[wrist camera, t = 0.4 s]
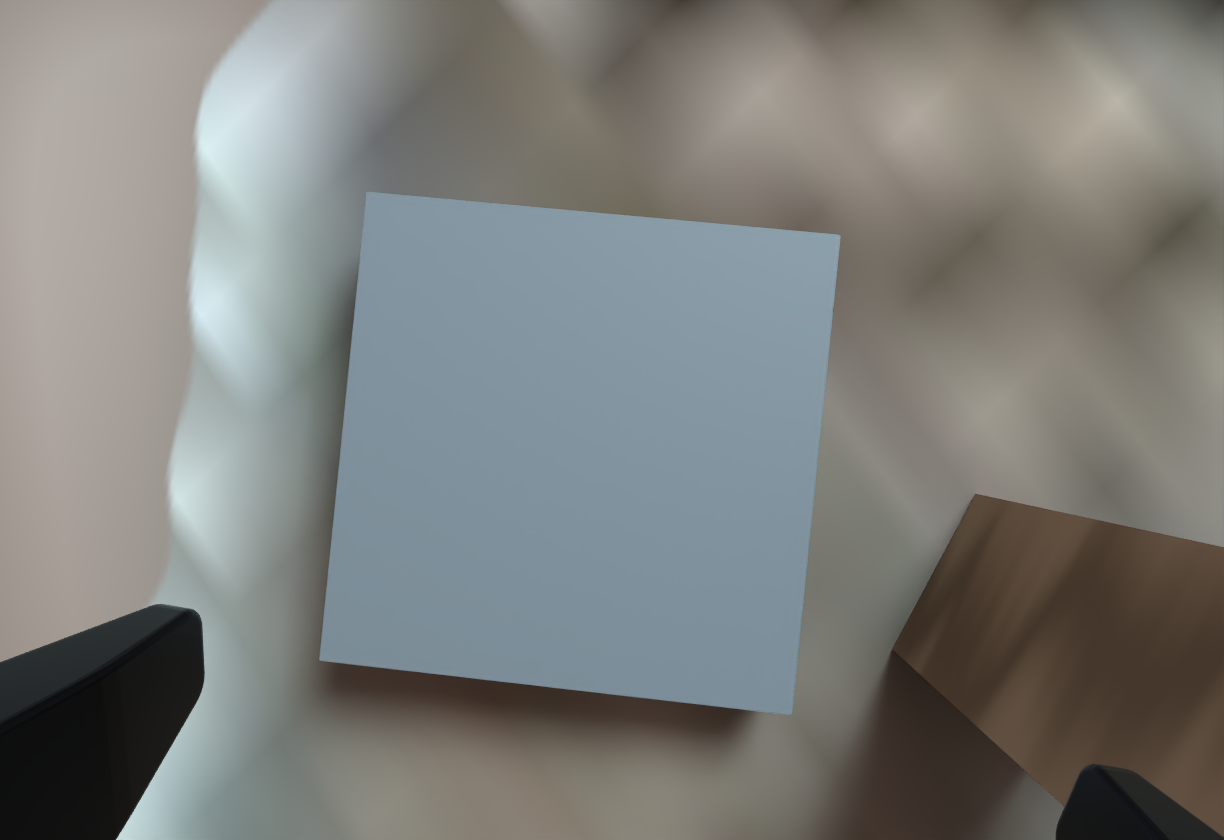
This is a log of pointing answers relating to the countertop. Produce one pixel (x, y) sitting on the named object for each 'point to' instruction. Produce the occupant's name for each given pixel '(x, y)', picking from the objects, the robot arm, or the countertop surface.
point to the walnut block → (1081, 648)
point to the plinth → (580, 450)
